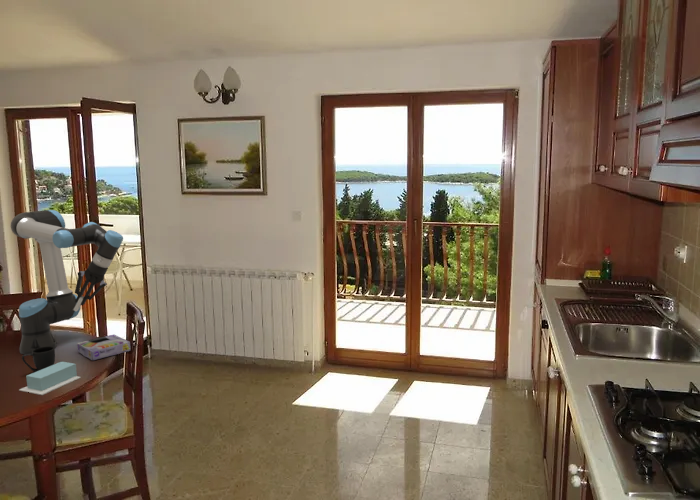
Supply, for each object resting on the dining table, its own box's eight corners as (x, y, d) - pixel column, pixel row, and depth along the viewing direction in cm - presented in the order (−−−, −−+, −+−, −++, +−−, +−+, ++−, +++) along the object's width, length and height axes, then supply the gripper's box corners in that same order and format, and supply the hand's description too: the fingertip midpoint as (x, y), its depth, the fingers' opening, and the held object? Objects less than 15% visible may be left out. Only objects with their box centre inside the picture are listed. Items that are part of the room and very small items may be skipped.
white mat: (19, 390, 213) (18, 389, 213) (58, 373, 229) (58, 373, 229) (42, 395, 208) (41, 394, 208) (80, 377, 224) (80, 376, 224)
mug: (23, 372, 232) (20, 350, 230) (55, 365, 238) (52, 344, 237) (25, 378, 225) (22, 356, 224) (58, 371, 232) (55, 350, 230)
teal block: (62, 372, 229) (27, 387, 214) (61, 361, 228) (26, 375, 214) (77, 375, 226) (42, 390, 211) (75, 363, 225) (40, 378, 211)
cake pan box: (75, 341, 255) (114, 333, 267) (76, 351, 256) (115, 343, 268) (90, 350, 241) (130, 341, 253) (91, 361, 242) (131, 352, 254)
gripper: (83, 258, 238) (58, 305, 239) (111, 272, 240) (87, 318, 242) (88, 255, 245) (64, 301, 247) (116, 269, 248) (92, 314, 249)
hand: (75, 309), depth 244 cm, fingers closed
